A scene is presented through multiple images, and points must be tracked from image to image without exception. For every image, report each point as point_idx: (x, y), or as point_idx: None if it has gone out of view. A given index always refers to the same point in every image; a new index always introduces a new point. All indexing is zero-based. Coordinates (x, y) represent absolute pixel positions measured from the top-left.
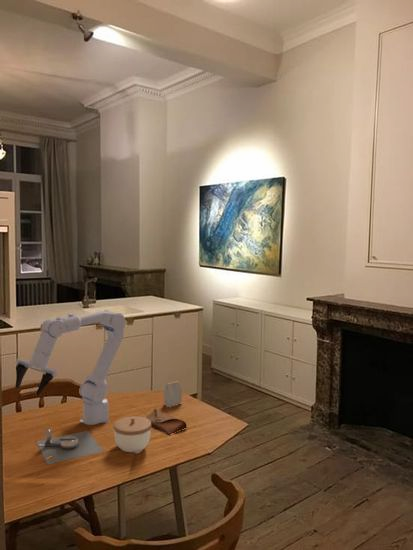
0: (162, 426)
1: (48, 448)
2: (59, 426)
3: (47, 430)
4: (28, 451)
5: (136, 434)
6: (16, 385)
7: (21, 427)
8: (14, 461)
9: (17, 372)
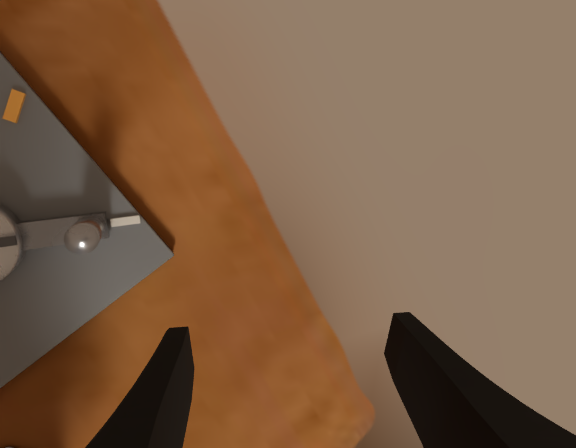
0: None
1: (77, 200)
2: None
3: (85, 235)
4: (172, 186)
5: None
6: (413, 322)
7: (297, 357)
8: (185, 99)
9: (551, 430)
